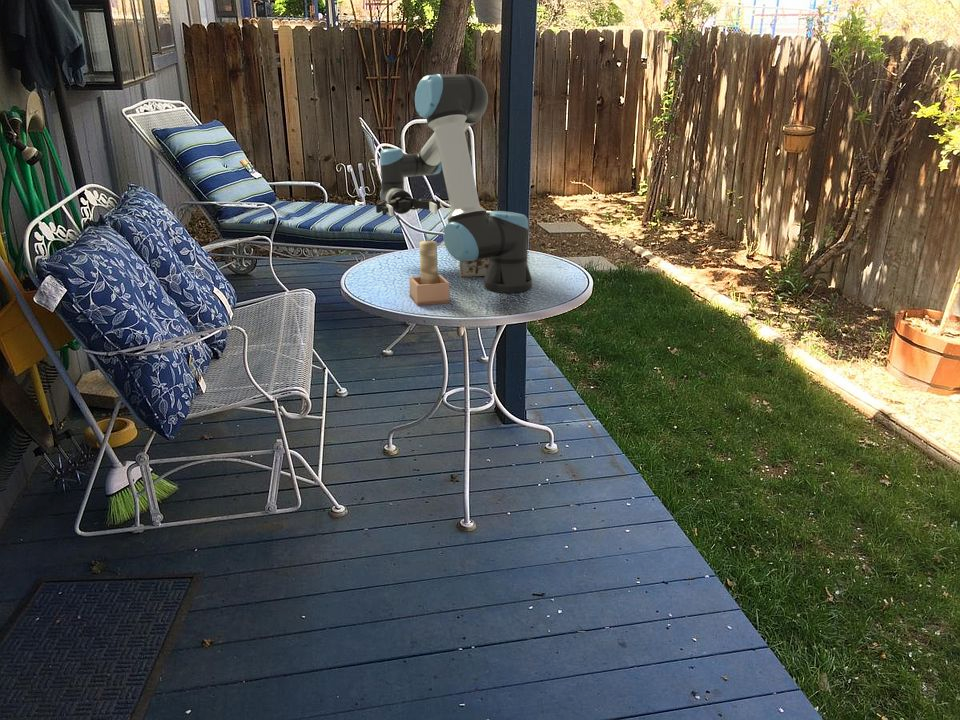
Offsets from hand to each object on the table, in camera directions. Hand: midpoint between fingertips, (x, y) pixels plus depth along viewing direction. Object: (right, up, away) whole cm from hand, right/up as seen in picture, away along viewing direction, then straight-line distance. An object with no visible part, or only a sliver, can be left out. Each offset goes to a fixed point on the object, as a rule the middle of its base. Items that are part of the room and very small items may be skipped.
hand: (414, 210), depth 225 cm
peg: (+5, -26, -6) cm, 28 cm away
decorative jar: (+19, -16, +24) cm, 35 cm away
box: (+5, -27, -6) cm, 28 cm away
